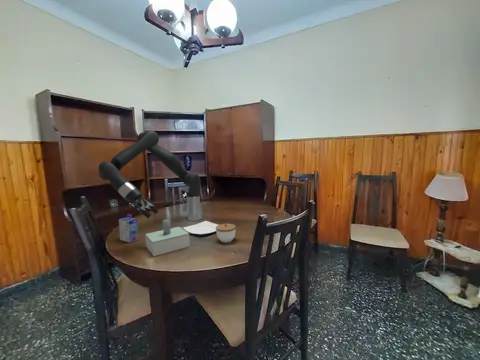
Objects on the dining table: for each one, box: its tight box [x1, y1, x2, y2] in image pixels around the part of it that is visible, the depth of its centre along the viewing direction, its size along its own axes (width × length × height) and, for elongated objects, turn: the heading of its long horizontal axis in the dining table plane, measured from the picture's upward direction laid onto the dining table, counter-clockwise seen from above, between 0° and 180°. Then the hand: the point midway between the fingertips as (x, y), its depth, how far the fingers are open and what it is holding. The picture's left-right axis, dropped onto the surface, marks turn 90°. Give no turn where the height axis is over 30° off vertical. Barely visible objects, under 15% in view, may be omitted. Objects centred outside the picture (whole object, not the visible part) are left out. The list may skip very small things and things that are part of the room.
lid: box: [144, 219, 190, 244], centre depth 117 cm, size 18×14×9 cm
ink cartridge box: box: [118, 213, 139, 243], centre depth 128 cm, size 10×6×14 cm, turn 58°
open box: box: [144, 234, 191, 257], centre depth 118 cm, size 18×14×6 cm
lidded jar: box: [215, 223, 237, 243], centre depth 124 cm, size 11×11×9 cm
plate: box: [182, 220, 219, 237], centre depth 142 cm, size 20×20×3 cm
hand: (153, 214), depth 117 cm, fingers open, 8 cm apart
